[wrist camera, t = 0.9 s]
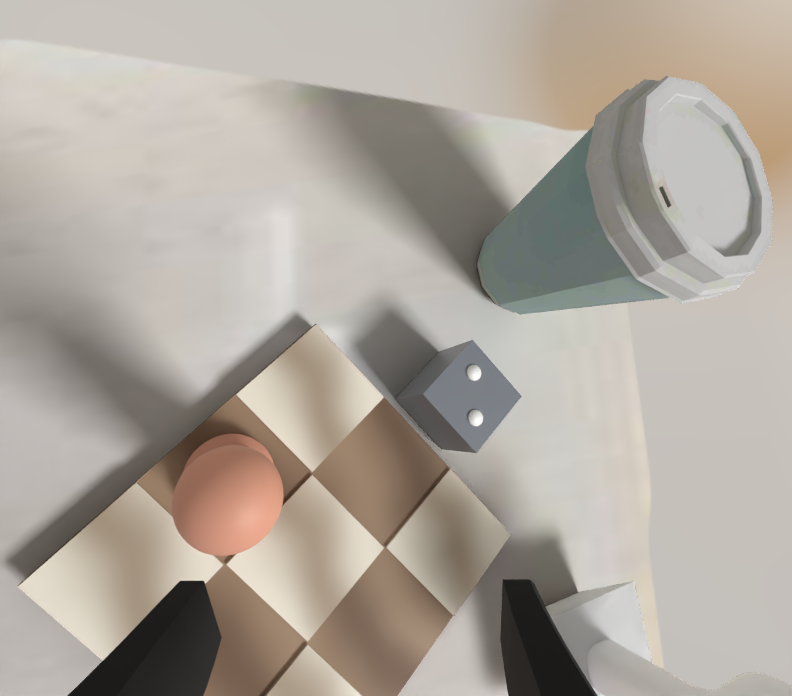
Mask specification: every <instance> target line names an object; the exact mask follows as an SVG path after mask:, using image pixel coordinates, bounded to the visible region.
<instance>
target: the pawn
mask: <svg viewBox="0 0 792 696" xmlns="http://www.w3.org/2000/svg"><path fill="white" fill-rule="evenodd" d="M283 497H284V495H283V484H282V480H281V477H280V475H279V472H278V470H277V469H276V467H275V465H274V463H273V460H272V458H271V455H270V454H269V452H268V451H267V449H266V448H265V447H264V446H263V445H262V444H261V443H259V442H258V441H256V440H255V439H253V438H251V437H249V436H245V435H241V434H224V435H220V436H217V437H214V438H212V439H210V440H208V441H207V442H205V443H203V444H202V445H201V446H200V447H198V448H197V449H196V450H195V451H194V452H193V454H192V455H191V456H190V458H189V459H188V461H187V463H186V465H185V467H184V470H183V473H182V475H181V477H180V478H179V480H178V482H177V485H176V487H175V490H174V494H173V499H172V515H173V520H174V524H175V526H176V528H177V530H178V532H179V534H180V535H181V537H182V538H183V539H184V540H185V541H186V542H187V543H188V544H189V545H190V546H192V547H193V548H195V549H196V550H198V551H200V552H203V553H205V554H209V555H216V556H228V555H234V554H237V553H241V552H243V551H246V550H248V549H250V548H251V547H253V546H255V545H256V544H258V543H259V542H260V541H261V540H262V539H263V538H265V537H266V536H267V534H268V533H269V532H270V531H271V529H272V528H273V526H274V525H275V523H276V521H277V519H278V517H279V515H280V512H281V509H282V505H283Z"/></svg>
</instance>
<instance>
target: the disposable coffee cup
mask: <svg viewBox="0 0 792 696" xmlns="http://www.w3.org/2000/svg"><path fill="white" fill-rule="evenodd" d="M763 169H764V168H763V165H762V162H761V158H760V155H759V152H758V150H757V149H756V147H755V146H754V144H753V142H752V141H751V139H750V138H749V136H748V134H747V133H746V131H745V129H744V128H743V126H742V124H741V123H740V121H739V119H738V118H737V116H736V115H735V113H734V111H733V110H732V109H730V108H729V107H728V106H727V105H726V104H725V103H723V102H722V101H721V100H720V99H719V98H718V97H716V96H715V95H714V94H713V93H712V92H711V91H710V90H708V89H707V88H706V87H705V86H704V85H703V84H701V83H697V82H693V81H688V80H683V79H678V78H673V77H668V76H666V77H664V78H663V79H662V80H660V81H655V80H643V81H642V82H640V83H639V84H637V85H636V86H635V87H633V88H632V89H630V90H626V91H624V92H623V93H622V94H621V95H620V96H619V97H617V98H616V99H615V100H614V101H613V102H611V103H610V104H609V105H608V106H607V107H605V108H604V109H603V110H602V111H601V112H599V113H598V114H597V115H596V118H595V122H594V126H593V127H592V128H591V129H590V130H589V131H588V132H587V133H586V134H585V135H584V136H583V137H582V138H581V139H580V140H579V141H578V142H577V143H576V145H575V146H574V147H573V148H572V149H571V150H570V151H569V152H568V153H567V154H566V155H565V156H564V157H563V158H562V159H561V160H560V161H559V162H558V163H557V164H556V165H555V166H554V167H553V168H552V169H551V170H550V171H549V172H548V174H547V175H546V176H545V177H544V178H543V179H542V180H541V181H540V182H539V183H538V184H537V185H536V186H535V187H534V188H533V189H532V190H531V191H530V192H529V193H528V194H527V195H526V196H525V197H524V198H523V199H522V200H521V202H520V203H519V204H518V205H517V206H516V207H515V208H514V209H513V210H512V211H511V212H510V213H509V214H508V215H507V216H506V217H505V218H504V219H503V220H502V221H501V222H500V223H499V224H498V225H497V226H496V227H495V228H494V230H493V231H492V232H491V233H490V234H489V235H488V236H487V237H486V238H485V240H484V243H483V245H482V248H481V252H480V255H479V259H478V263H477V267H478V271H479V276H480V280H481V285H482V287H483V289H484V290H485V291H486V292H487V294H488V295H489V296H490V298H491V299H492V300H493V302H494V303H495V304H497V305H499V306H501V307H503V308H505V309H508V310H510V311H512V312H516V313H518V314H527V313H536V312H545V311H554V310H563V309H572V308H582V307H591V306H600V305H609V304H618V303H627V302H636V301H645V300H654V299H662V298H672V299H674V300H675V301H677V302H679V303H685V302H691V301H696V300H702V299H707V298H712V297H717V296H720V295H721V294H722V293H725V292H728V291H731V290H735V289H738V288H739V286H740V284H741V283H742V282H743V280H744V279H745V278H746V276H747V275H751V274H754V272H755V271H756V269H757V267H758V266H759V264H760V262H761V260H762V259H763V257H764V255H765V253H766V252H767V250H768V248H769V246H770V245H771V241H772V206H773V200H772V196H771V193H770V189H769V186H768V183H767V179H766V176H765V172H764V170H763Z"/></svg>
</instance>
